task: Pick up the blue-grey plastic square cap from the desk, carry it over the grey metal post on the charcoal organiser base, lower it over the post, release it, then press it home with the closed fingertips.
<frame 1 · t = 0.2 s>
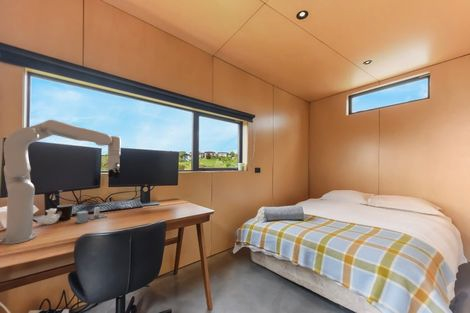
hand: (113, 177, 141), 31 cm above the table, fingers open, 9 cm apart
duck figurine: (49, 224, 131), on the table
cap: (82, 221, 136), on the table
coffee mug: (63, 219, 140), on the table
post: (96, 217, 147), on the table
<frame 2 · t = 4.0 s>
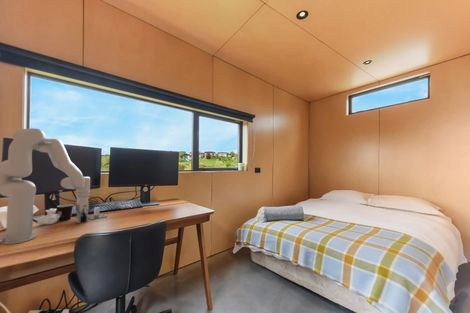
hand: (82, 220, 136), 1 cm above the table, fingers closed on cap, 5 cm apart
cap: (82, 221, 136), on the table, touching gripper
everything else where it was.
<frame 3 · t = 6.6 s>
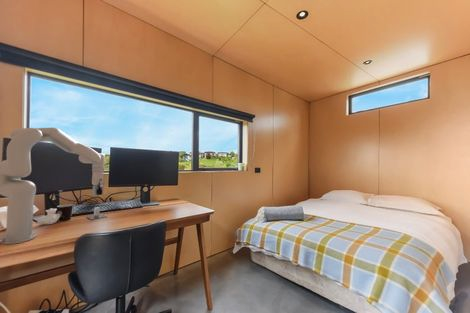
hand: (97, 193, 147), 17 cm above the table, fingers closed on cap, 5 cm apart
cap: (97, 194, 148), point 17 cm above the table, touching gripper
everything else where it was.
when the fingers open (3 cm above the table, at t = 9.6 s): cap drops 1 cm, resting on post.
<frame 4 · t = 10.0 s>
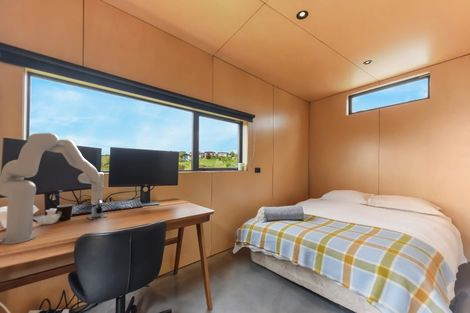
hand: (96, 212, 147), 4 cm above the table, fingers open, 9 cm apart
cap: (96, 215, 147), point 1 cm above the table, touching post
everything else where it was.
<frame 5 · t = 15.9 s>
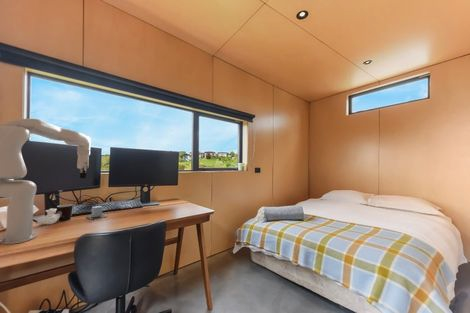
hand: (82, 178, 144), 29 cm above the table, fingers closed
nothing on the table moved.
at the end: cap 0.0 cm from the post (horizontally); cap point 1.0 cm above the table; the gripper is holding nothing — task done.
